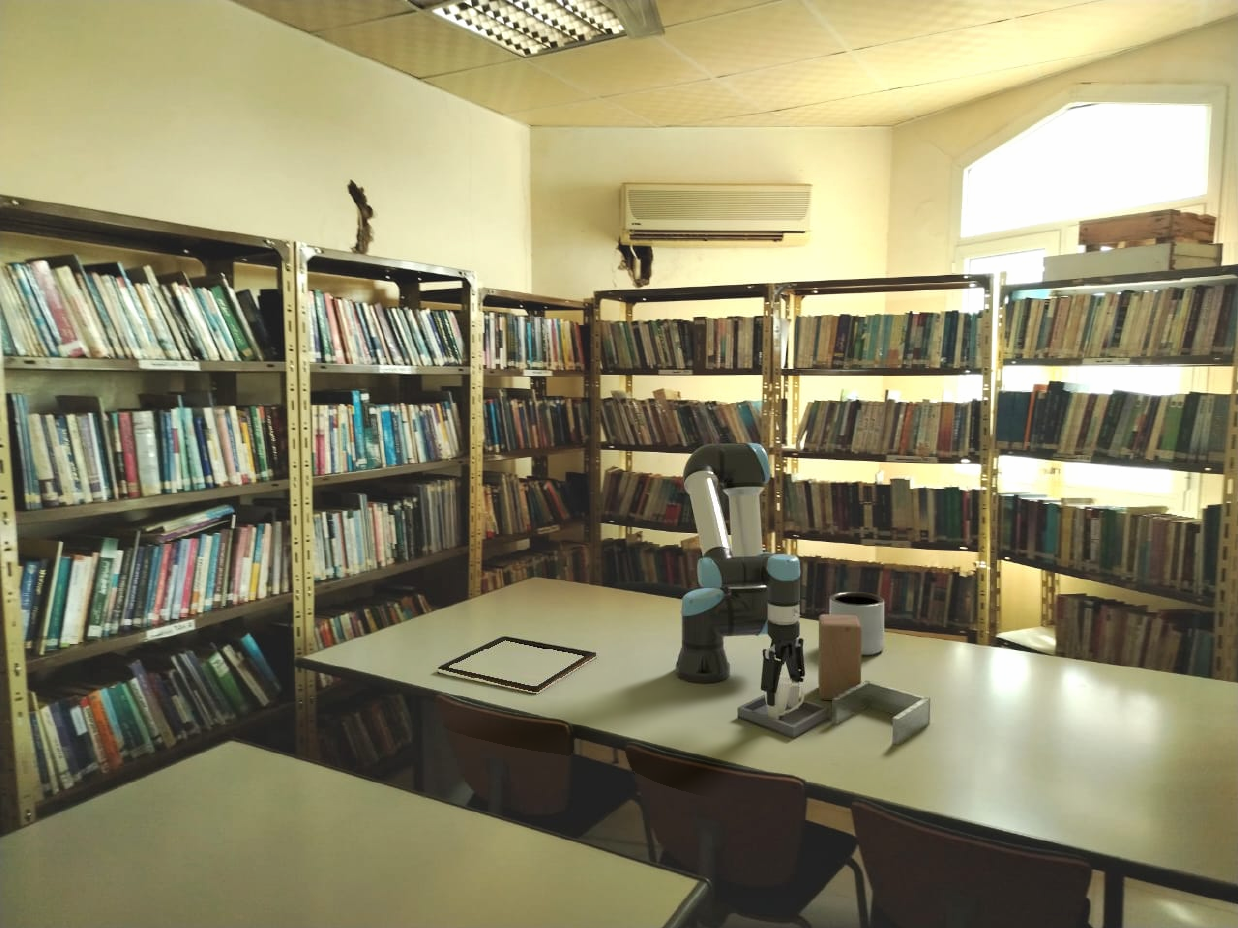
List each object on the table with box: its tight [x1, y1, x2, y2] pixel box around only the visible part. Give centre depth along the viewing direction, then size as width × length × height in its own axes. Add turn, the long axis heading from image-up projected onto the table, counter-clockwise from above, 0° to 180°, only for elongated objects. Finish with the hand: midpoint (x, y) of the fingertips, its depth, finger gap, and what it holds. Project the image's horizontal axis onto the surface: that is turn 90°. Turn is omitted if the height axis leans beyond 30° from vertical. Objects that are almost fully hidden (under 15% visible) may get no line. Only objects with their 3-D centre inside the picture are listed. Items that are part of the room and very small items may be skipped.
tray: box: [737, 694, 830, 739], centre depth 187 cm, size 16×15×3 cm
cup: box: [763, 675, 805, 716], centre depth 187 cm, size 7×10×8 cm
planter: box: [829, 591, 885, 657], centre depth 235 cm, size 16×16×16 cm
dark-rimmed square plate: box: [437, 636, 597, 692], centre depth 226 cm, size 38×35×3 cm
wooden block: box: [817, 613, 862, 701], centre depth 200 cm, size 10×10×20 cm
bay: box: [831, 679, 931, 746], centre depth 183 cm, size 16×16×6 cm
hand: (783, 712), depth 187 cm, fingers closed on cup, 8 cm apart
